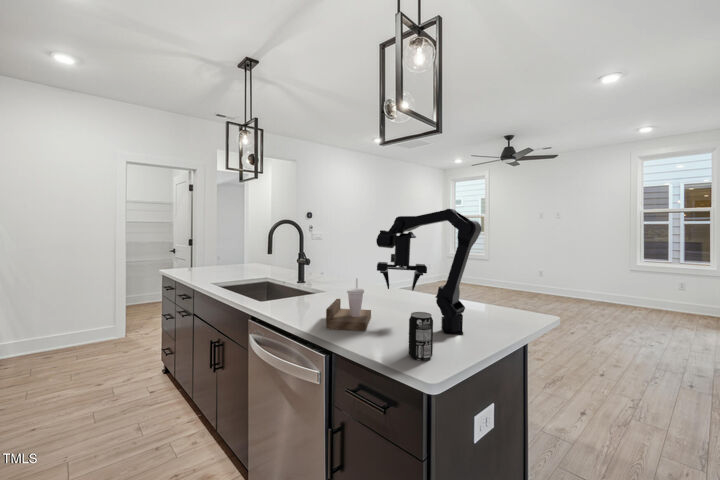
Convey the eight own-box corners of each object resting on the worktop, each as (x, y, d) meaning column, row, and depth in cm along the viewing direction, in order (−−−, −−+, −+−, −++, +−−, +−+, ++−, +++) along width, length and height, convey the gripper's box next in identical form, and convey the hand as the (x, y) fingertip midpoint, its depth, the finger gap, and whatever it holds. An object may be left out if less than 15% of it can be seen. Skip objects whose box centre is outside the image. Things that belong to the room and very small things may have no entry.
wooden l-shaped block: (371, 317, 134) (371, 300, 133) (365, 331, 116) (365, 311, 116) (336, 315, 136) (336, 298, 135) (326, 329, 118) (326, 309, 117)
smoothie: (354, 318, 120) (354, 280, 120) (343, 315, 125) (343, 278, 124) (367, 315, 124) (367, 278, 124) (356, 312, 129) (356, 276, 129)
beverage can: (415, 350, 98) (416, 310, 98) (436, 356, 94) (437, 314, 94) (404, 357, 93) (404, 314, 93) (425, 363, 89) (426, 318, 88)
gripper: (425, 248, 135) (423, 287, 135) (378, 246, 136) (377, 284, 137) (428, 251, 123) (425, 293, 124) (377, 248, 125) (375, 290, 126)
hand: (400, 289), depth 128 cm, fingers open, 9 cm apart
